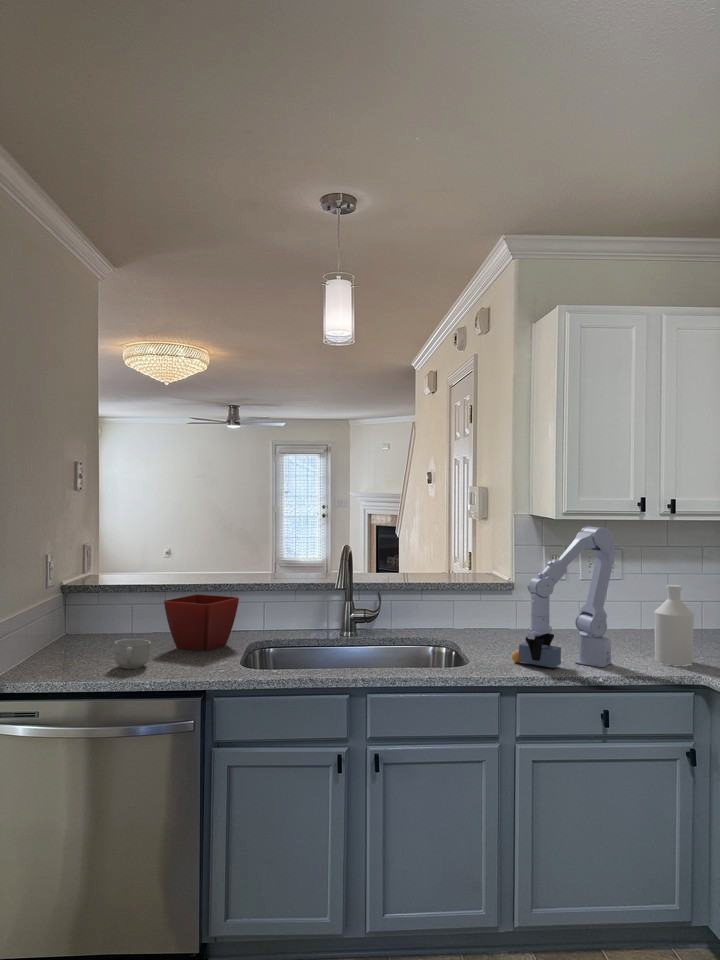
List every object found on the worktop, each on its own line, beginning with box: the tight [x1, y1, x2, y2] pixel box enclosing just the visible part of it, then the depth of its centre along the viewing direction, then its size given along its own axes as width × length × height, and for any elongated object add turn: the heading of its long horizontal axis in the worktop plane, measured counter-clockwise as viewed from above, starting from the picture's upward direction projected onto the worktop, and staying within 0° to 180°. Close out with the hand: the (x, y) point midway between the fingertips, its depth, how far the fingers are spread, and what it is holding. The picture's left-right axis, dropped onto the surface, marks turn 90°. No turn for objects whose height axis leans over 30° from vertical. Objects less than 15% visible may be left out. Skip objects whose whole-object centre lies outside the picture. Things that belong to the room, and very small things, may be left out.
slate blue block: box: [518, 642, 562, 669], centre depth 238 cm, size 12×6×5 cm, turn 54°
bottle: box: [653, 584, 695, 665], centre depth 244 cm, size 12×12×25 cm
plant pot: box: [163, 594, 240, 652], centre depth 263 cm, size 19×19×17 cm
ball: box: [511, 650, 520, 664], centre depth 242 cm, size 4×4×4 cm
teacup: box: [113, 638, 152, 670], centre depth 232 cm, size 14×11×8 cm
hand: (539, 658), depth 238 cm, fingers closed on slate blue block, 6 cm apart
